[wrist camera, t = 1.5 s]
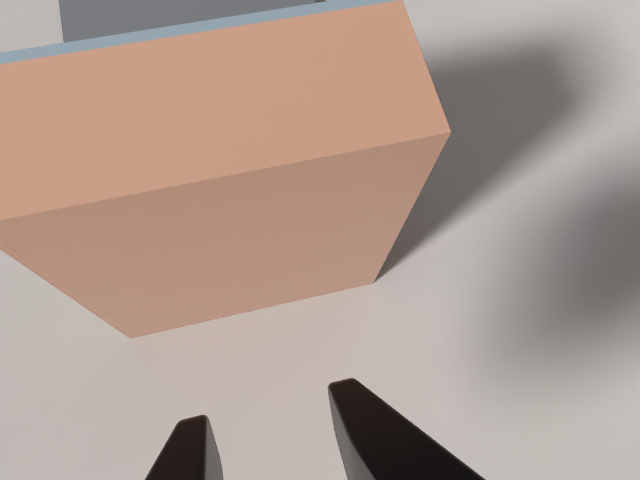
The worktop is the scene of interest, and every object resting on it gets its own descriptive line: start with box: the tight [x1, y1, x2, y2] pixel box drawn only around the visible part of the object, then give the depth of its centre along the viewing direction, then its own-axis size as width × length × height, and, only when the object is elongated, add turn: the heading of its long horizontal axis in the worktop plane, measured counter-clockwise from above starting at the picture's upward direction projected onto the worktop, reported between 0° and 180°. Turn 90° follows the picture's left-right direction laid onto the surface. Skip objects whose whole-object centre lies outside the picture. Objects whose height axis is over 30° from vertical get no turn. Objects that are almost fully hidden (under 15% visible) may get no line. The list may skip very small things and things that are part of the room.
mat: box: [59, 0, 316, 43], centre depth 26 cm, size 14×12×1 cm
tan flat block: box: [0, 0, 451, 338], centre depth 18 cm, size 4×10×12 cm, turn 104°
